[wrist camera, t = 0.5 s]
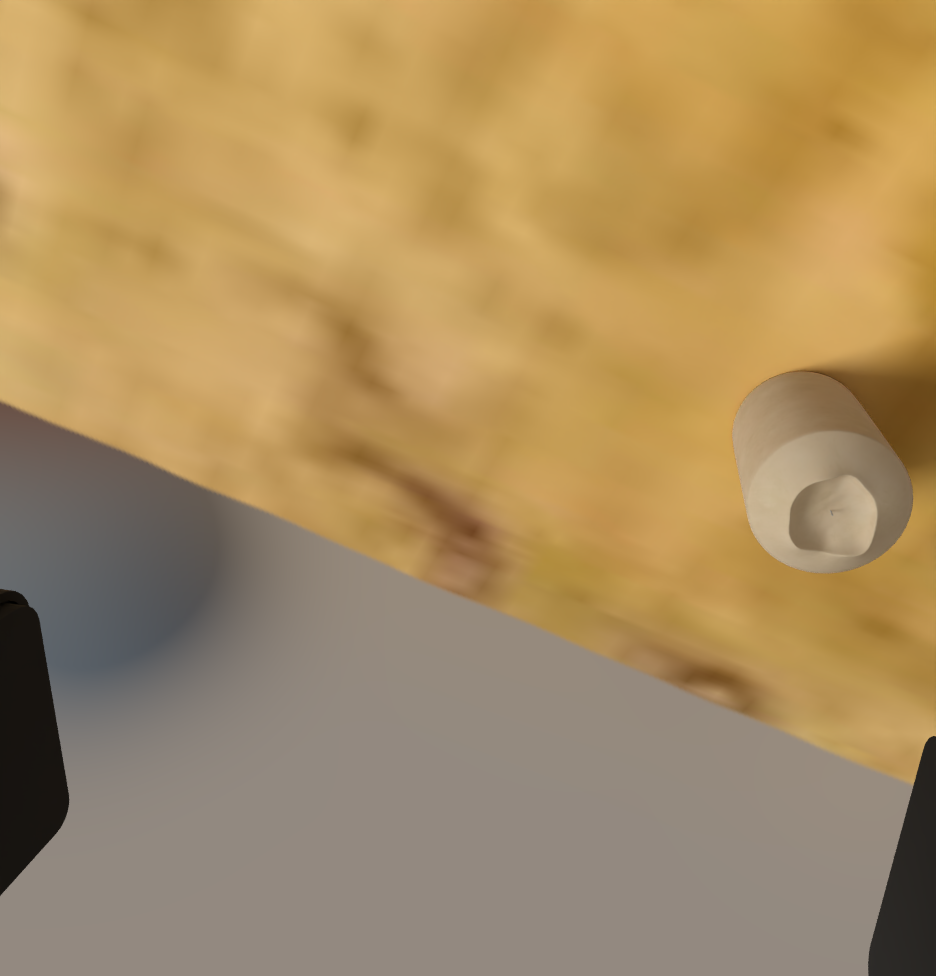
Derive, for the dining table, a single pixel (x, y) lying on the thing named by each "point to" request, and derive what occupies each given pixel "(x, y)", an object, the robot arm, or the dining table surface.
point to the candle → (818, 475)
